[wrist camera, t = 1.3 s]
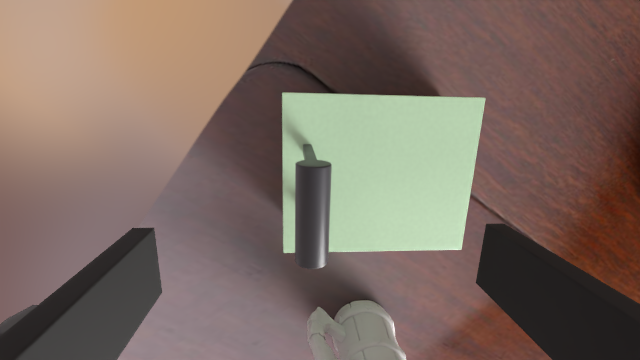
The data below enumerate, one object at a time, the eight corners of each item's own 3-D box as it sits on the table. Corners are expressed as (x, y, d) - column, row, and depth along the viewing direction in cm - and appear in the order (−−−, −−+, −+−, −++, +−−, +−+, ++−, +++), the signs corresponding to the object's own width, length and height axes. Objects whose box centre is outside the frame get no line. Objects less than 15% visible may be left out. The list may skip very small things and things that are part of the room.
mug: (369, 356, 40) (399, 460, 29) (290, 321, 38) (288, 420, 26) (401, 312, 39) (447, 403, 27) (322, 273, 37) (335, 355, 25)
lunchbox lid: (283, 248, 28) (277, 327, 18) (282, 92, 24) (275, 89, 15) (457, 245, 29) (535, 317, 20) (480, 97, 26) (588, 98, 16)
